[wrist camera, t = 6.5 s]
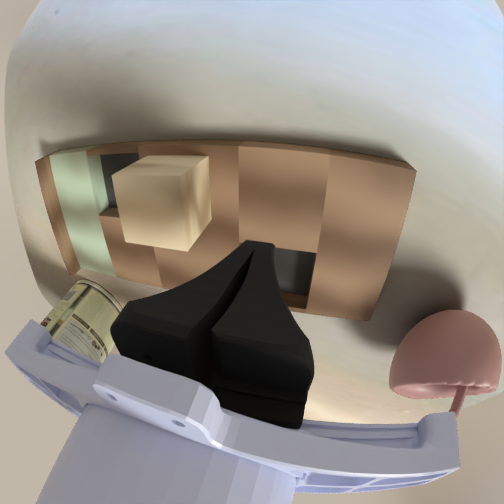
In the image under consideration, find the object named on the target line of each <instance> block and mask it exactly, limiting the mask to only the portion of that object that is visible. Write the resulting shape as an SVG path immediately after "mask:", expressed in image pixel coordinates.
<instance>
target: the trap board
mask: <svg viewBox="0 0 504 504" xmlns="http://www.w3.org/2000/svg"><path fill="white" fill-rule="evenodd" d="M150 155H196V156H209V180H210V200H211V217H212V220H211V221H210V222H209V224H208V225H207V226H206V228H205V229H204V230H203V232H202V233H201V234H200V236H199V237H198V238H197V240H196V241H195V243H194V244H193V245H192V247H191V248H190V249H189V251H188V252H186V251H180V250H173V249H167V248H160V247H154V246H147V245H141V244H135V243H128V242H125V238H124V234H123V230H122V225H121V221H120V216H119V212H118V207H117V202H116V197H115V192H114V186H113V181H112V175H113V174H115V173H116V172H118V171H120V170H122V169H124V168H125V167H127V166H129V165H131V164H133V163H135V162H136V161H138V160H140V159H142V158H144V157H146V156H150ZM35 164H36V169H37V174H38V178H39V183H40V187H41V191H42V195H43V198H44V202H45V206H46V209H47V213H48V216H49V219H50V223H51V226H52V229H53V232H54V235H55V238H56V241H57V244H58V246H59V249H60V252H61V254H62V257H63V260H64V262H65V265H66V267H67V270H68V272H69V274H70V275H74V274H75V273H76V272H77V271H78V270H79V269H80V268H82V269H86V270H90V271H94V272H98V273H102V274H106V275H110V276H114V277H118V278H122V279H126V280H130V281H135V282H139V283H143V284H148V285H152V286H157V287H161V288H166V289H173V288H175V287H177V286H179V285H181V284H184V283H186V282H188V281H190V280H192V279H194V278H196V277H197V276H199V275H201V274H203V273H204V272H206V271H207V270H209V269H210V268H212V267H213V266H214V265H216V264H217V263H219V262H220V261H221V260H222V259H224V258H225V257H226V256H228V255H229V254H230V253H231V252H232V251H234V250H235V249H236V248H237V247H238V246H239V245H241V244H242V243H243V242H244V241H246V240H252V241H260V242H267V243H273V244H274V245H275V254H274V266H275V271H276V276H277V280H278V283H279V287H280V290H281V292H282V295H283V298H284V300H285V302H286V304H287V306H288V308H289V310H290V311H293V312H300V313H307V314H314V315H321V316H329V317H337V318H345V319H354V320H362V321H369V320H370V317H371V315H372V313H373V310H374V308H375V305H376V303H377V300H378V298H379V295H380V293H381V290H382V288H383V285H384V282H385V279H386V277H387V274H388V271H389V268H390V265H391V263H392V260H393V257H394V254H395V250H396V247H397V244H398V241H399V238H400V234H401V231H402V228H403V224H404V221H405V217H406V213H407V210H408V206H409V202H410V198H411V194H412V190H413V185H414V181H415V177H416V172H417V171H416V170H415V169H414V168H413V167H412V166H411V165H410V164H409V163H406V162H401V161H397V160H392V159H387V158H382V157H377V156H372V155H366V154H361V153H355V152H349V151H342V150H336V149H329V148H321V147H313V146H304V145H295V144H285V143H273V142H259V141H240V140H155V141H137V142H124V143H112V144H102V145H93V146H85V147H78V148H71V149H64V150H58V151H56V152H54V153H52V154H49V155H47V156H45V157H43V158H41V159H39V160H37V161H35Z"/></svg>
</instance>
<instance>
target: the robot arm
mask: <svg viewBox="0 0 504 504" xmlns="http://www.w3.org/2000/svg"><path fill="white" fill-rule="evenodd" d="M274 254H275V245H274V244H273V243H267V242H260V241H252V240H246V241H244V242H243V243H242V244H241V245H239V246H238V247H237V248H236V249H235V250H234V251H232V252H231V253H230V254H229V255H228V256H226V257H225V258H224V259H222V260H221V261H220V262H219V263H217V264H216V265H214V266H213V267H212V268H210V269H209V270H207V271H206V272H204V273H203V274H201V275H199V276H197V277H196V278H194V279H192V280H190V281H188V282H186V283H184V284H181V285H179V286H177V287H175V288H173V289H170V290H168V291H165V292H162V293H159V294H156V295H153V296H150V297H146V298H142V299H138V300H134V301H129V302H128V303H127V304H126V306H125V307H124V308H123V309H122V311H121V312H120V314H119V315H118V316H117V318H116V319H115V320H114V322H113V323H112V325H111V327H110V333H111V336H112V339H113V341H114V343H115V345H116V347H117V349H118V350H119V352H120V354H121V356H120V355H116V354H110V355H109V356H107V357H106V358H105V360H104V362H103V363H100V362H98V361H95V360H93V359H91V358H89V357H87V356H85V355H83V354H81V353H79V352H77V351H75V350H73V349H71V348H69V347H67V346H65V345H63V344H61V343H59V342H58V341H56V340H54V339H52V336H51V335H50V333H49V332H48V330H47V329H46V328H45V327H44V326H42V325H41V324H38V323H37V322H35V321H34V320H30V321H29V322H28V323H27V325H26V326H25V327H24V329H23V330H22V331H21V332H20V333H19V335H18V336H17V337H16V338H15V339H14V341H13V342H12V343H11V345H10V346H9V347H8V349H7V350H6V351H5V354H6V355H7V357H8V358H9V359H10V360H11V361H12V363H13V364H14V365H15V366H16V367H17V368H18V370H19V371H20V372H21V373H22V374H23V375H24V376H25V377H26V378H27V380H28V381H29V382H30V383H32V384H33V385H34V386H35V387H37V388H38V389H39V390H41V391H42V392H43V393H45V394H46V395H47V396H48V397H50V398H51V399H53V400H54V401H55V402H57V403H58V404H59V405H61V406H62V407H64V408H65V409H67V410H68V411H69V412H71V413H72V414H74V415H75V416H77V417H78V418H79V419H78V421H77V423H76V425H75V427H74V428H73V430H72V432H71V434H70V435H69V437H68V439H67V441H66V443H65V445H64V447H63V449H62V451H61V452H60V454H59V456H58V458H57V460H56V463H55V464H54V466H53V468H52V470H51V472H50V474H49V477H48V478H47V481H46V483H45V485H44V487H43V489H42V491H41V493H40V496H39V498H38V500H37V502H36V504H292V499H293V496H294V492H300V493H354V492H368V491H379V490H388V489H396V488H403V487H410V486H417V485H423V484H426V483H429V482H431V481H433V480H436V479H438V478H440V477H443V476H445V475H447V474H449V473H451V472H453V471H456V470H458V469H459V468H460V453H459V452H460V451H459V440H458V430H457V421H456V414H455V412H443V413H433V414H429V415H427V416H425V417H423V418H422V419H421V420H420V421H419V422H418V423H409V424H354V423H336V422H324V421H314V420H305V419H303V416H304V409H305V404H306V401H307V395H308V390H309V388H310V385H311V383H312V380H313V377H314V360H313V354H312V350H311V346H310V342H309V339H308V338H307V337H306V335H305V334H304V333H303V331H302V330H301V329H300V327H299V326H298V324H297V323H296V321H295V319H294V318H293V316H292V314H291V312H290V310H289V308H288V306H287V304H286V302H285V300H284V298H283V295H282V292H281V290H280V287H279V283H278V280H277V276H276V271H275V266H274Z"/></svg>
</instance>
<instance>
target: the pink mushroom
mask: <svg viewBox="0 0 504 504" xmlns="http://www.w3.org/2000/svg"><path fill="white" fill-rule="evenodd" d="M501 364H502V357H501V349H500V345H499V342H498V339H497V337H496V335H495V333H494V331H493V330H492V328H491V327H490V326H489V325H488V324H487V323H486V322H485V321H484V320H483V319H482V318H480V317H479V316H477V315H475V314H473V313H471V312H467V311H463V310H445V311H441V312H437V313H435V314H432V315H430V316H428V317H426V318H425V319H423V320H421V321H420V322H419V323H417V324H416V325H415V326H414V327H413V328H412V329H411V330H410V331H409V332H408V333H407V334H406V335H405V337H404V338H403V340H402V341H401V343H400V344H399V346H398V348H397V350H396V352H395V354H394V357H393V361H392V364H391V368H390V376H389V385H390V389H391V390H392V391H394V392H395V393H397V394H400V395H402V396H405V397H408V398H412V399H433V398H440V397H443V398H444V397H453V396H454V400H453V403H452V406H451V408H450V410H449V412H455V414H456V418H457V417H458V415H459V412H460V410H461V407H462V404H463V401H464V398H465V396H466V395H479V394H483V393H489V392H493V391H495V390H496V389H497V387H498V383H499V378H500V374H501Z"/></svg>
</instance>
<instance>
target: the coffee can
mask: <svg viewBox="0 0 504 504" xmlns="http://www.w3.org/2000/svg"><path fill="white" fill-rule="evenodd" d="M121 311H122V307H121V306H120V304H119V303H118V302H117V301H116V300H115V298H114V297H113V296H112V295H111V294H109V293H108V292H107V291H106V290H105V289H103V288H102V287H101V286H99V285H98V284H96V283H94V282H92V281H89V280H79V281H77V282H76V283H75V284H74V286H73V287H72V288H71V289H70V290H69V291H68V292H67V293H66V295H65V296H64V297H63V298H62V299H61V300H60V301H59V302H58V304H57V305H56V306H55V307H54V308H53V309H52V311H51V312H50V313H49V314H48V315H47V316H46V318H45V319H44V320H43V321H42V322H41V325H42V326H44V327H45V328H46V329H47V330H48V332H49V333H50V335H51V336H52V339H54V340H56V341H58V342H59V343H61V344H63V345H65V346H67V347H69V348H71V349H73V350H75V351H77V352H79V353H81V354H83V355H85V356H87V357H89V358H91V359H93V360H95V361H98V362H100V363H103V362H104V360H105V358H106V357H107V356H108V354H109V353H110V351H111V350H112V348H113V346H114V345H115V343H114V341H113V339H112V336H111V333H110V327H111V325H112V323H113V322H114V320H115V319H116V318H117V316H118V315H119V314H120V312H121Z"/></svg>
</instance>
